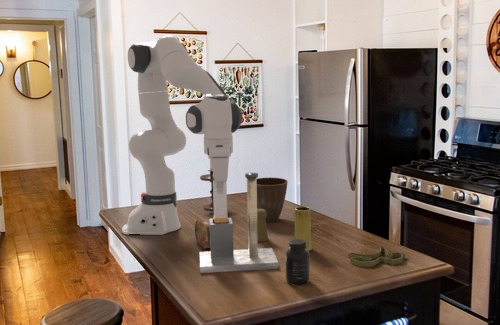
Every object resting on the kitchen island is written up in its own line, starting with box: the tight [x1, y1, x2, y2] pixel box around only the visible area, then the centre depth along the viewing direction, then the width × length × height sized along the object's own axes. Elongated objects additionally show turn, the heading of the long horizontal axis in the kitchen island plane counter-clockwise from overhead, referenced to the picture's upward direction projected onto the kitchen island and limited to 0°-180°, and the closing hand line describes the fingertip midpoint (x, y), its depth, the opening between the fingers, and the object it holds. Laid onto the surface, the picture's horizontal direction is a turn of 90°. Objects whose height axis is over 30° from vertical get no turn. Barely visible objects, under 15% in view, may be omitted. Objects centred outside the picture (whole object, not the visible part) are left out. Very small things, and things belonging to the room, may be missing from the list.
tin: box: [194, 219, 210, 250], centre depth 196 cm, size 15×3×8 cm, turn 22°
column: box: [213, 175, 229, 224], centre depth 174 cm, size 4×4×20 cm
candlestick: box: [199, 159, 214, 212], centre depth 245 cm, size 11×11×35 cm
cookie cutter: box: [347, 246, 406, 268], centre depth 178 cm, size 18×12×2 cm, turn 114°
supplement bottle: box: [285, 238, 311, 286], centre depth 160 cm, size 7×7×12 cm
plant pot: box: [257, 177, 289, 223], centre depth 226 cm, size 15×15×16 cm
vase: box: [293, 206, 313, 252], centre depth 188 cm, size 6×6×14 cm
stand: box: [199, 172, 279, 274], centre depth 175 cm, size 24×14×29 cm, turn 96°
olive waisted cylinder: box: [257, 209, 269, 242], centre depth 201 cm, size 6×6×11 cm
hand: (219, 191), depth 173 cm, fingers closed on column, 4 cm apart
